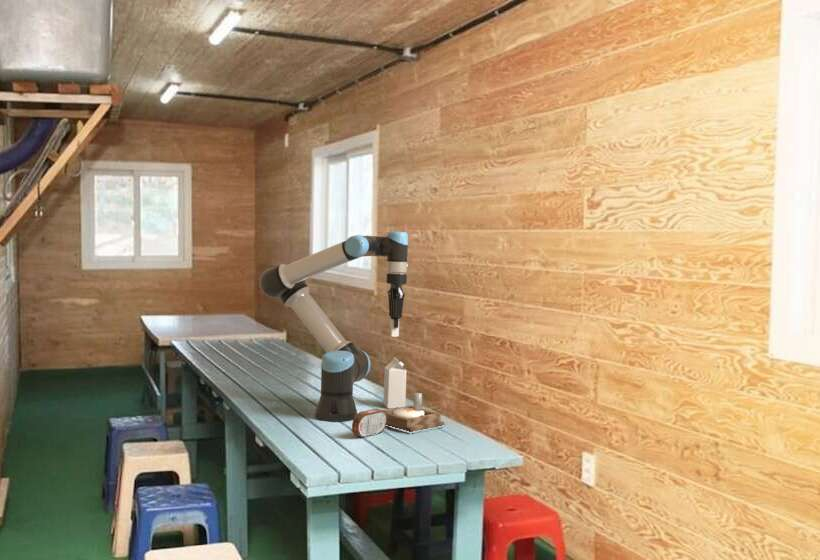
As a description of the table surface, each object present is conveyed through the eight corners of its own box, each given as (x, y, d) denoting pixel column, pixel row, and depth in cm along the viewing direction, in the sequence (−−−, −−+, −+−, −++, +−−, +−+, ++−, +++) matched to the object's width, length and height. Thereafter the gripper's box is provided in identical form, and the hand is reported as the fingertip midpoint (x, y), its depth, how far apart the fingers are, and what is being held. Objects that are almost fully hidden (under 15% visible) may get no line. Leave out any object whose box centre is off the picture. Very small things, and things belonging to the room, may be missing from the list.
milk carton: (387, 408, 294) (389, 360, 293) (383, 404, 301) (384, 357, 300) (405, 408, 296) (407, 359, 295) (400, 404, 303) (402, 357, 302)
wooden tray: (410, 434, 257) (411, 420, 257) (373, 422, 272) (373, 409, 272) (444, 427, 268) (444, 414, 268) (406, 416, 283) (406, 403, 282)
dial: (406, 423, 262) (407, 399, 262) (386, 417, 270) (387, 393, 270) (430, 419, 269) (431, 395, 269) (410, 413, 278) (411, 390, 277)
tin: (381, 430, 261) (382, 406, 261) (388, 432, 259) (389, 407, 259) (350, 438, 250) (351, 413, 249) (357, 440, 248) (358, 414, 247)
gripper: (412, 274, 278) (409, 338, 279) (400, 272, 290) (398, 333, 291) (392, 273, 275) (390, 338, 277) (381, 272, 288) (379, 334, 289)
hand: (394, 336), depth 284 cm, fingers closed
